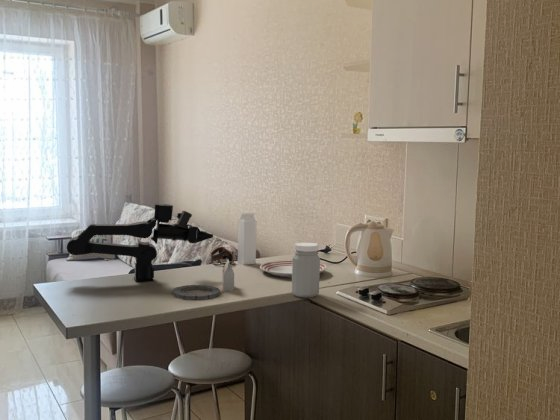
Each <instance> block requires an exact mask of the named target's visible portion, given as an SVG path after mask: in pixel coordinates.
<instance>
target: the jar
mask: <svg viewBox="0 0 560 420" xmlns="http://www.w3.org/2000/svg"><path fill="white" fill-rule="evenodd" d="M294 250H295V251H294V254H293V256H292V259H291V260H292V278H291V293H292V295H294V296H296V297H298V298H307V299H308V298H315V297H317V296H318V295H319V293H320V274H321V273H320V263H321V258H320V256H319V252H318V251H319V244H318V243H316V242H311V241H310V242H305V241H304V242H303V241H302V242H296V243H294Z"/></svg>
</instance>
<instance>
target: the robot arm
mask: <svg viewBox="0 0 560 420" xmlns="http://www.w3.org/2000/svg"><path fill="white" fill-rule="evenodd" d="M173 210H174V205H173V204H167V203H163V204H162V203H155V204H154V214H153V215H154V216H153V217H151V218H150V219H148V220H147V221H146V220H143V221H136V222H131V223H128V224H127V223H126V224H123V223H122V224H120V223H119V224H118V223H117V224H113V223H111V224H109V223H108V224H104V223H103V224H98V223H97V224H96V223H90V224H89V225H88V226H87V227H86V228H85V229H84V230H83V231H82V232H81V233H80V234H79V235H77V236H73V237H71V238H70V240H68V242H67V245H66V251H67V252H68V254H70V255H71V256H80V255H81V256H82V255H89V254H90V255H91V254H101V255H112V256H113V255H114V256H123V257H125V256H126V257H132V258H135V263H134V276H133V279H134V281H135V282H137V283H138V282H151V281H152V282H153V281H154V278H155V268H154V267H153V263H152V262H153V261H154V260H155V259H156V258H157V255H158V251H157V248H156V246H155V245H154V244H156V245H157V244H158V239H160V240H172V241H182V242H188V243H190V244H197V243H200V242H203V241H206V240H209V239H212V238H214V234H213V233H210V232H209V233H208V232H206V231H202V230H201V229H199V227H198V226H195V225H194V226H193V225H191V224H188V223H189V221H190V219H191V218H192V216H193V214H192V213H191V212H188V211H186V210H182V211H181V212H178V213H177V215H176V219H178V220H177V222H176V223H172V224H171V223H170V224H169V222H170V221H172V220H173V219H172V218H173V212H174V211H173ZM95 236H130V237H134V238H140V239H148V238H149V237H150V240H152V241H153V243H154V244H153V243H150V241H142V240H138V241H137V244H133V245H132V244H119V243H108V242H98V241H97V242H95V241H92V239H93V238H94V237H95Z"/></svg>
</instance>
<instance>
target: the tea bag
mask: <svg viewBox="0 0 560 420" xmlns="http://www.w3.org/2000/svg"><path fill="white" fill-rule="evenodd" d="M230 262H231V261H229V260H228V259H227V258H226V261H225V265H224V267H223V268H222V281H221V282H222V290H223V291H235V272H234V270H233V268H232V266H231V263H230Z"/></svg>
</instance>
